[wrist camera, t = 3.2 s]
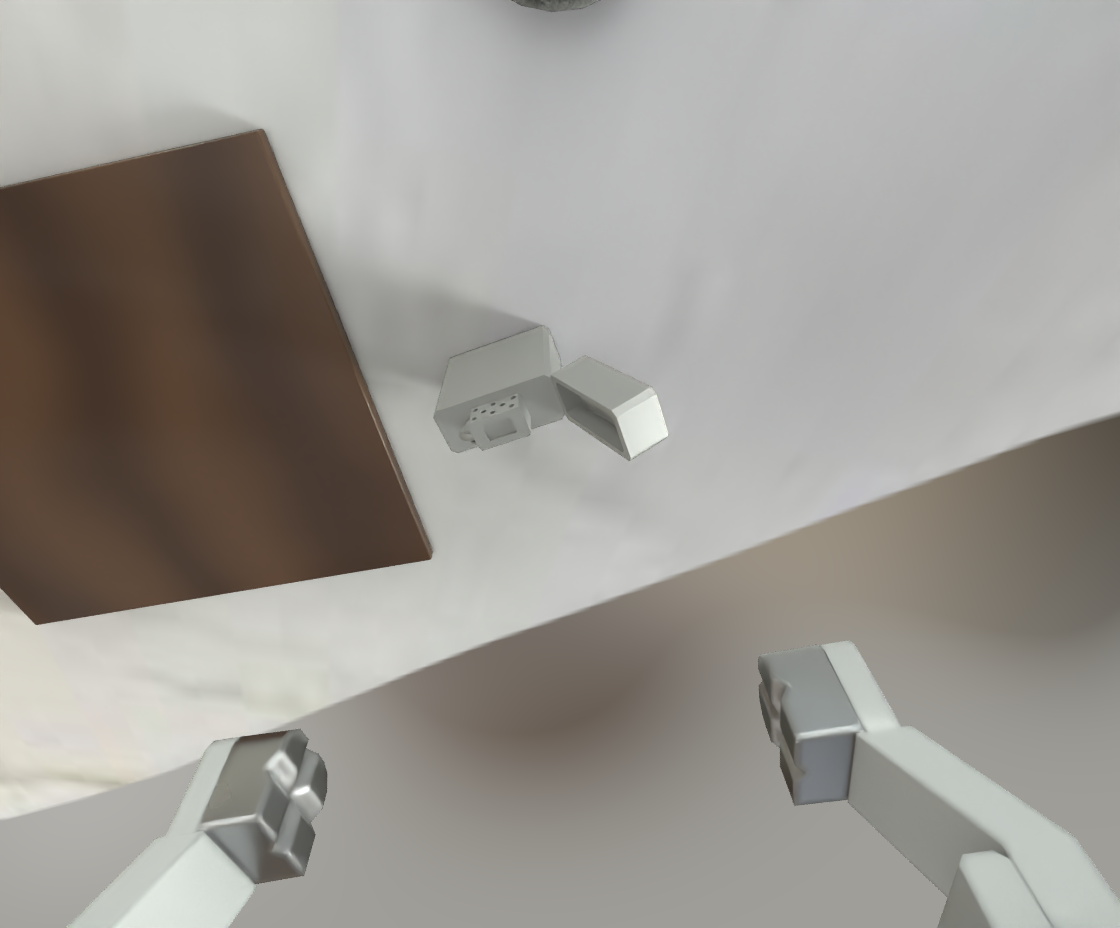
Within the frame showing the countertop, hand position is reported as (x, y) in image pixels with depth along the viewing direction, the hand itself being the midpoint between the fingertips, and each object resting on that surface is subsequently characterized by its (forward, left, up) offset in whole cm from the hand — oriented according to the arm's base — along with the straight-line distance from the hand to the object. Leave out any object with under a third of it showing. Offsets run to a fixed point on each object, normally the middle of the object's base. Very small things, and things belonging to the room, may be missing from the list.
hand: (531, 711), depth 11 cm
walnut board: (+17, 0, -16) cm, 23 cm away
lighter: (0, 0, -16) cm, 16 cm away
